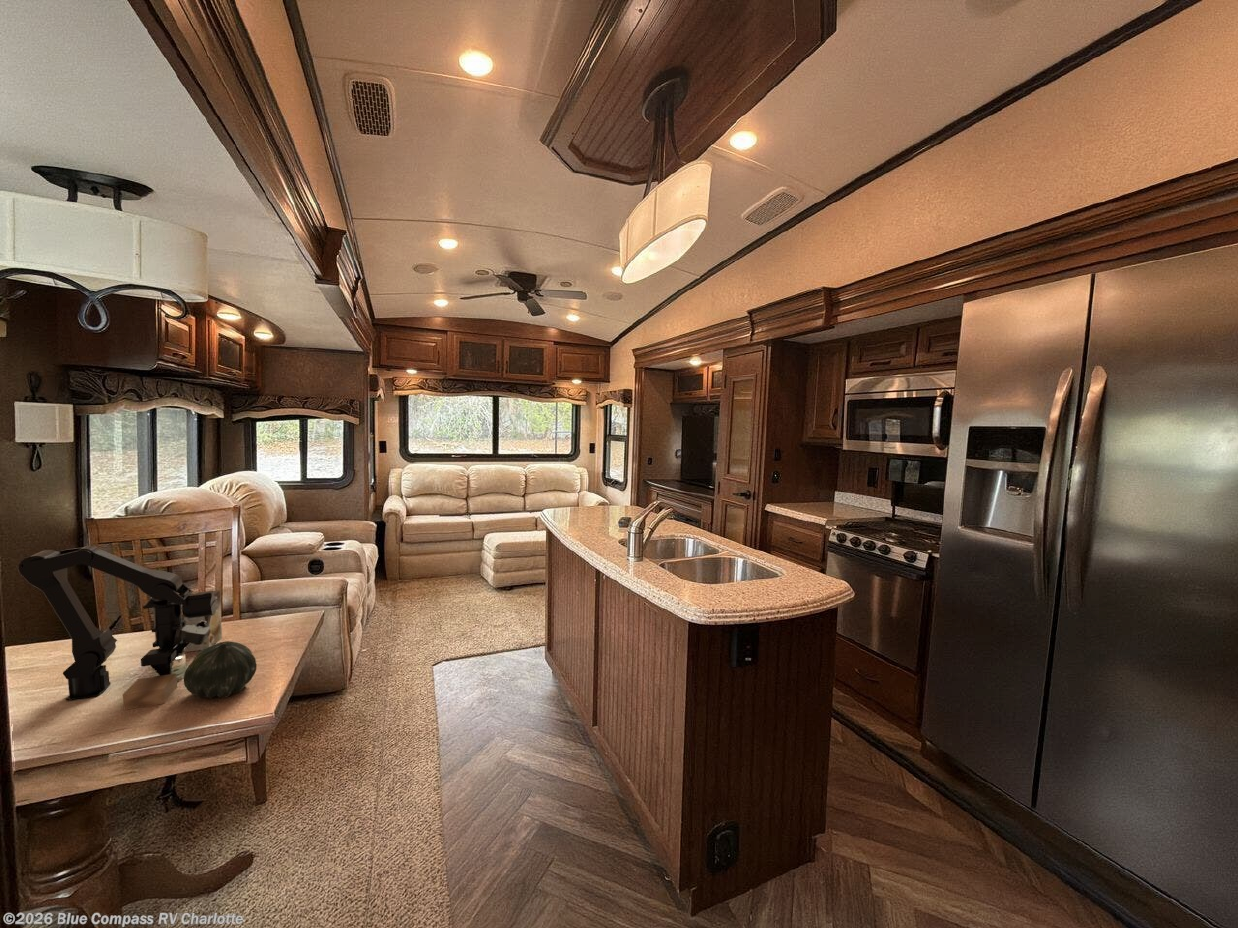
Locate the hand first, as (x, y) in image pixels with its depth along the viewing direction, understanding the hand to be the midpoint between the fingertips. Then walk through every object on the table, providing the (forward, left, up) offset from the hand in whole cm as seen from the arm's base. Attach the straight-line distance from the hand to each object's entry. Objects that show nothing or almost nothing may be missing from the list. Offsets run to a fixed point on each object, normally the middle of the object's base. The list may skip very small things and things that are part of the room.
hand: (172, 674), depth 140 cm
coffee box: (+1, +22, -2) cm, 22 cm away
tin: (0, 0, -1) cm, 1 cm away
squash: (+15, -12, -2) cm, 19 cm away
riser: (-1, -10, -1) cm, 10 cm away
